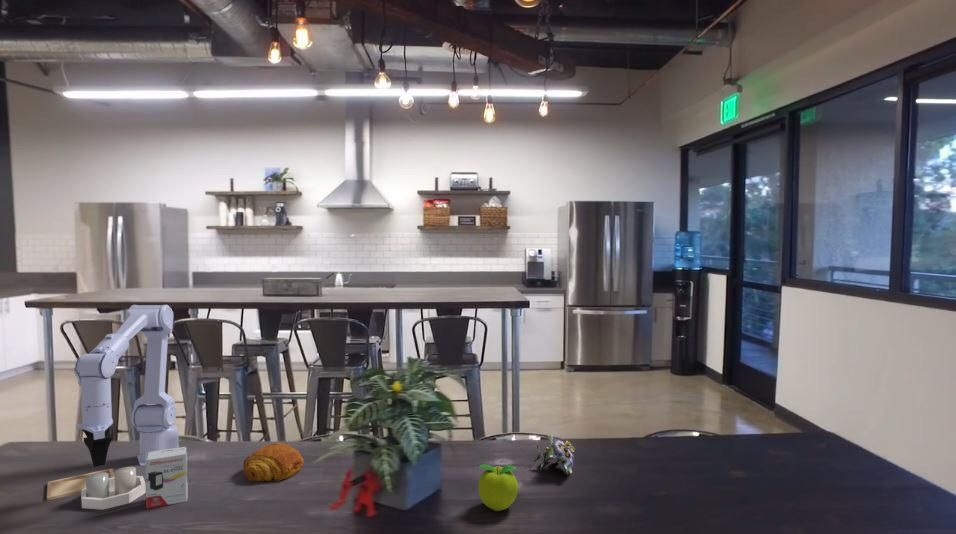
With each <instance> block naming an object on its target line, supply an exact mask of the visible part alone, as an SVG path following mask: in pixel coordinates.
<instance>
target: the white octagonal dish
mask: <svg viewBox="0 0 956 534" xmlns="http://www.w3.org/2000/svg"><path fill="white" fill-rule="evenodd" d="M144 494H146V480H145V478H144V476H143V475H136V488H134V489H132V490H131V491H129V492H127V493H124V494H120V495H115V478H114V477H113V478H109V497H107V498H92V497H86V488H84V489H82V490H81V493H80V497H81V498H80V501H81V509H88V510H102V511H103V510H107V509H111V508H114V507H118V506H123V505H126V504H129V503H131V502H134V501H135V500H136V499H138V498H140V497H142V496H143V495H144Z"/></svg>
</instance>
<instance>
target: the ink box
mask: <svg viewBox="0 0 956 534" xmlns="http://www.w3.org/2000/svg"><path fill="white" fill-rule="evenodd" d="M187 450H188V448H187V447H186V446H182V447H181V446H179V448H173V449H166V450H159V451H152V452H149V453H147V454H146V465H145V487H146V493H145V504H146V505H145V506H146V507H145V508H146V509H147V510H149V509H153V508H159V507H163V506H168V505H174V504H179V503H185V502H187V501H188V497H189V496H188V494H189V493H188V491H189V490H188V451H187Z"/></svg>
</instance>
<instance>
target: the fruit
mask: <svg viewBox="0 0 956 534" xmlns="http://www.w3.org/2000/svg"><path fill="white" fill-rule="evenodd" d="M477 468H478V469H485V471H483V472H482V474H481V475H480V476H479V479H478V485H477V486H478V487H477V488H478V494H479V498H480V499H481V501H482V502H483V504H484V505H485V506H486V507H487V508H489V509H491V510H492V511H496V512H501V511H504V510H507V509H508V508H509V507H511V505H512V504H513V503H514V502H515V500H516V499H517V495H518V487H519V486H518V481H517V478H516V476H515V475H514V473H513V472H512V471H513V470H515V469H517V467H516V466H513V465H510V464H509V465H508V464H506V465H504V466H503V467H502V466H499V465H497V466H494V467H493V466H492V465H490V464H484V463H483V464H480V465H479V466H478V467H477Z"/></svg>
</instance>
